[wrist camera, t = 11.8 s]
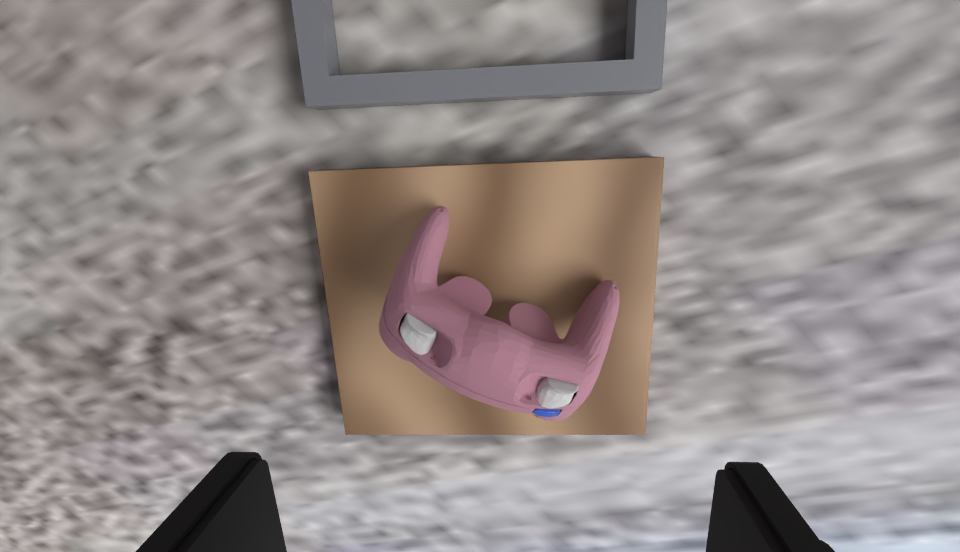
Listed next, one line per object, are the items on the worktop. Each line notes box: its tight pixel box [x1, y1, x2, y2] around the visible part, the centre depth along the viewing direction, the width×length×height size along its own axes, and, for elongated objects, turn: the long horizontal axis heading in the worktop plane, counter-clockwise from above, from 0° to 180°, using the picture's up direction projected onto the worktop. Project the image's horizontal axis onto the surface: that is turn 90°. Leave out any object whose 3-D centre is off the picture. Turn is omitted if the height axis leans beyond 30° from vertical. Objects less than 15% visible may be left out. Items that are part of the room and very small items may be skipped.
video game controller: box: [379, 206, 620, 421], centre depth 19 cm, size 10×5×7 cm, turn 67°
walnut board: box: [308, 157, 664, 435], centre depth 23 cm, size 16×14×2 cm
